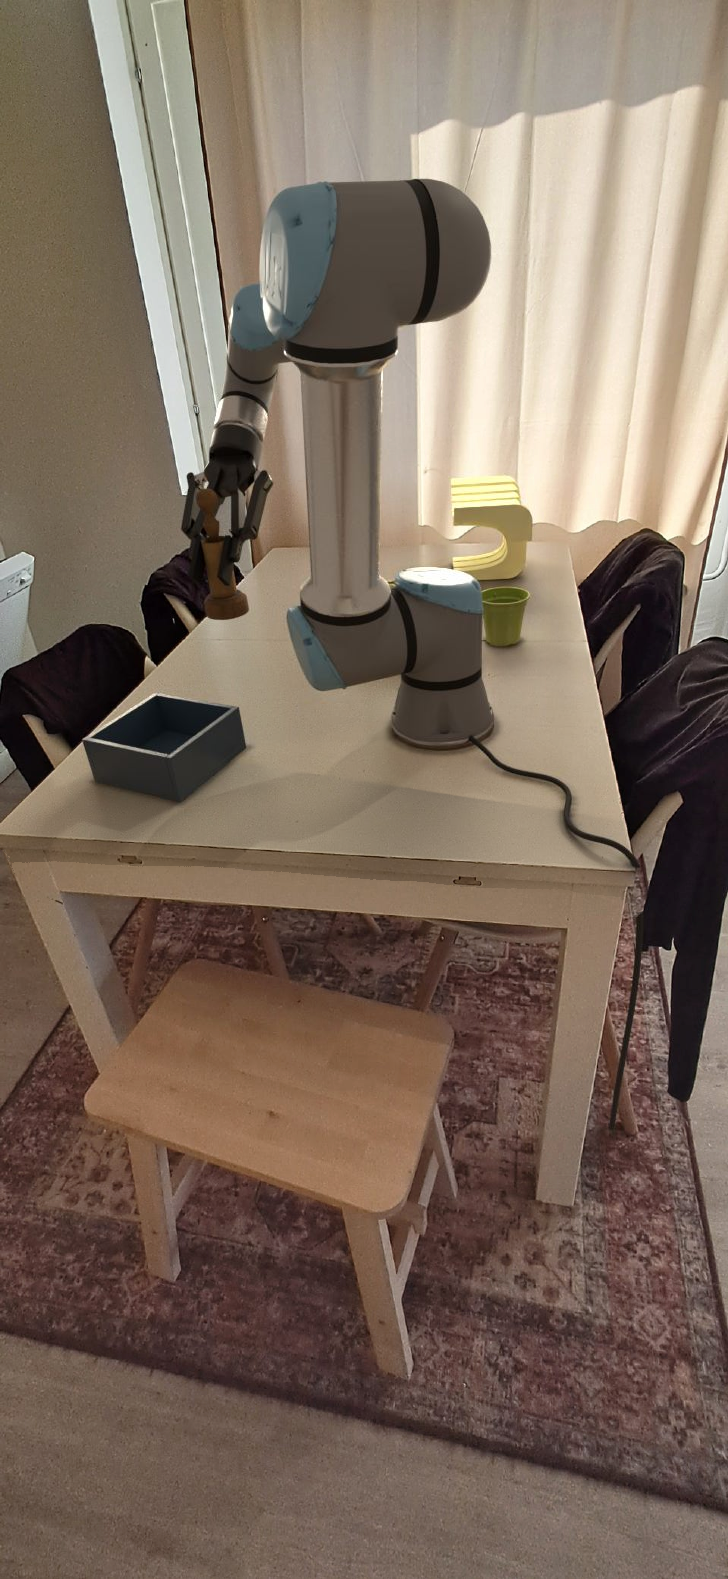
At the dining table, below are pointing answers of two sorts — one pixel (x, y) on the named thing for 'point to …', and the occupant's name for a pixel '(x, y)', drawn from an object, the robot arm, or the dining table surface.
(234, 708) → the tub
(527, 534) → the slatted curved stool
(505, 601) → the plant pot
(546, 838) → the dining table surface
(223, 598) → the mortar and pestle
